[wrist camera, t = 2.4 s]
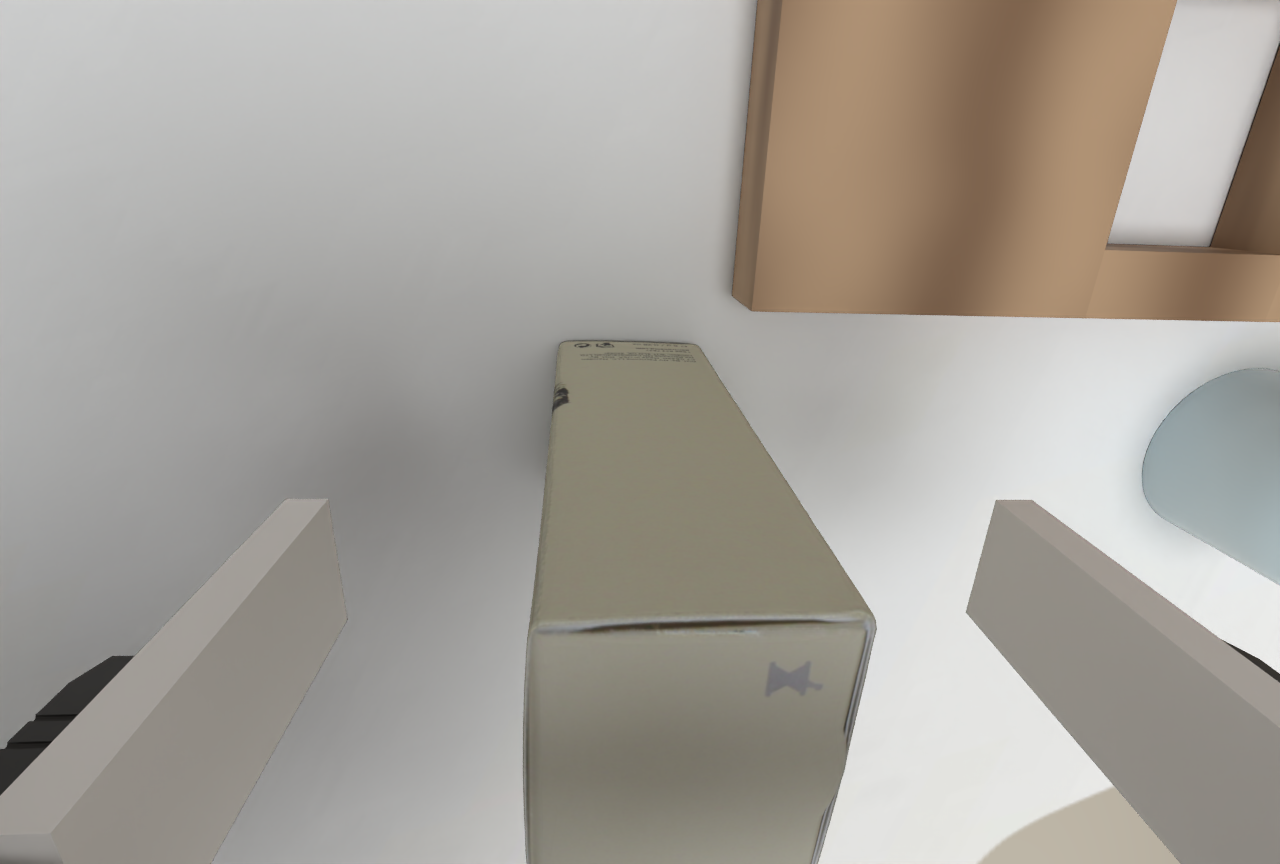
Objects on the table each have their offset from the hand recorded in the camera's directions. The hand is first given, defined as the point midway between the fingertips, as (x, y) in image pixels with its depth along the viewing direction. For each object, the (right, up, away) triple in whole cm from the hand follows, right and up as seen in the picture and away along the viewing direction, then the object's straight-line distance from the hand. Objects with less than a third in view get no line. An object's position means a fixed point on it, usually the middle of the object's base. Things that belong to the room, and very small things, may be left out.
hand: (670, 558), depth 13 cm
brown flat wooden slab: (+12, +11, +5) cm, 17 cm away
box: (-1, +3, +7) cm, 8 cm away
